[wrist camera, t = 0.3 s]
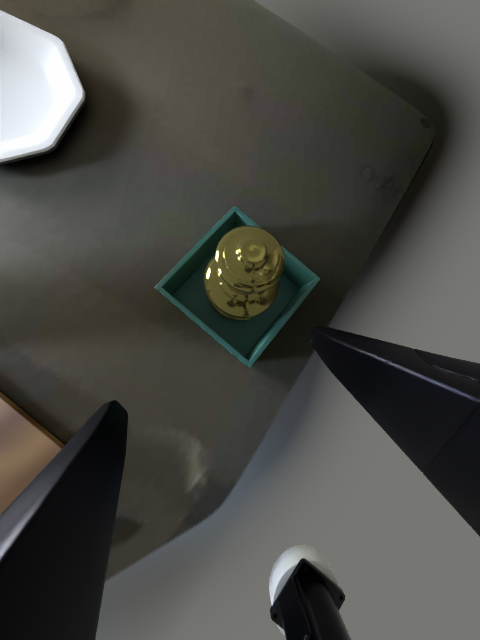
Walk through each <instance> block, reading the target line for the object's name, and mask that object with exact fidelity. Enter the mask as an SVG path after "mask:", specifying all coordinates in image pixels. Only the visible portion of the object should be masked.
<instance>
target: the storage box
mask: <svg viewBox="0 0 480 640" xmlns="http://www.w3.org/2000/svg"><path fill="white" fill-rule="evenodd" d="M240 226H256V227H259V226H258V225H257V224H256V223H255V222H254V221H252V220H251V219H250V218H249V217H248V216H247V215H245V214H244V213H243V212H242V211H241V210H240V209H238V208H237V207H236V206H234V207H233V208H232V209H231V210H230V211H229V212H228V213H227V214H226V215H225V216H224V217H223V218H222V219H221V220H220V221H219V222H218V223H217V224H216V225H215V226H214V227H213V228H212V229H211V230H210V231H209V232H208V233H207V234H206V235H205V236H204V237H203V238H202V239H201V240H200V241H199V242H198V243H197V244H196V245H195V247H194V248H193V249H192V250H191V251H190V252H189V253H188V254H187V255H186V256H185V257H184V258H183V259H182V260H181V261H180V262H179V263H178V264H177V265H176V266H175V267H174V268H173V269H172V270H171V271H170V272H169V273H168V274H167V275H166V276H165V277H164V278H163V279H162V280H161V281H160V282H159V283H158V284H157V285H156V286H155V287H154V288H155V289H156V290H157V291H159V292H160V293H161V294H162V295H163V296H165V297H166V298H167V299H168V300H169V301H170V302H172V303H173V304H174V305H175V306H176V307H178V308H179V309H180V310H181V311H182V312H183V313H185V314H186V315H187V316H188V317H189V318H191V319H192V320H193V321H194V322H195V323H196V324H198V325H199V326H200V327H201V328H202V329H204V330H205V331H206V332H207V333H208V334H209V335H211V336H212V337H213V338H214V339H215V340H217V341H218V342H219V343H220V344H221V345H223V346H224V347H225V348H226V349H227V350H228V351H230V352H231V353H232V354H233V355H234V356H236V357H237V358H238V359H239V360H240V361H241V362H243V363H244V364H245V365H246V366H247V367H249V368H251V366H252V365H253V364H254V362H255V361H256V360H257V359H258V357H259V356H260V355H261V354H262V352H263V351H264V350H265V349H266V347H267V346H268V345H269V343H270V342H271V341H272V340H273V338H274V337H275V336H276V335H277V333H278V332H279V331H280V330H281V328H282V327H283V326H284V324H285V323H286V322H287V321H288V319H289V318H290V317H291V316H292V314H293V313H294V312H295V311H296V309H297V308H298V307H299V306H300V304H301V303H302V302H303V300H304V299H305V298H306V297H307V295H308V294H309V293H310V292H311V290H312V289H313V288H314V287H315V285H316V284H317V283H318V281H319V280H320V278H319V277H318V276H317V275H316V274H314V273H313V272H312V271H311V270H310V269H309V268H307V267H306V266H305V265H304V264H303V263H302V262H300V261H299V260H298V259H297V258H296V257H295V256H293V255H292V254H291V253H290V252H289V251H288V250H286V249H285V248H284V247H283V246H282V245H281V247H282V249H283V252H284V257H285V264H284V269H283V272H282V275H281V276H280V278H279V279H280V287H279V292H278V295H277V298H276V300H275V301H274V303H273V304H272V305H271V307H270V308H269V309H268V310H266V311H265V312H264V313H262V314H260V315H259V316H257V317H255V318H253V319H251V320H248V321H243V322H235V321H230V320H227V319H225V318H223V317H222V316H220V315H219V314H218V313H217V312H216V311H215V310H214V309H213V307H212V306H211V304H210V302H209V300H208V297H207V294H206V291H205V287H204V274H205V270H206V267H207V265H208V263H209V261H210V260H211V258H212V257H213V256H214V255H215V253H216V249H217V246H218V244H219V242H220V240H221V239H222V237H223V236H224V235H225V234H226V233H227V232H229V231H230V230H232V229H234V228H237V227H240ZM260 228H261V227H260Z"/></svg>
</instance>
